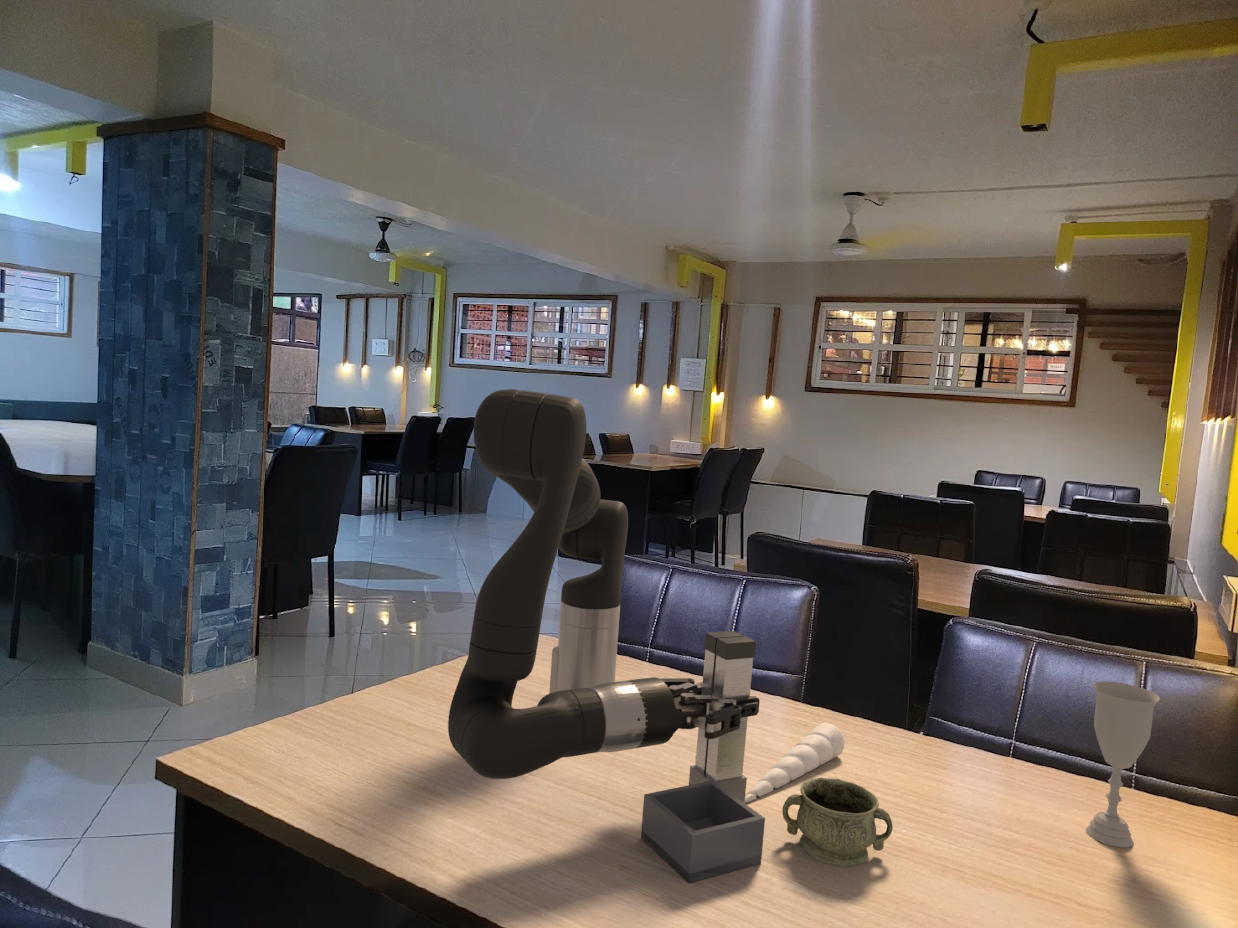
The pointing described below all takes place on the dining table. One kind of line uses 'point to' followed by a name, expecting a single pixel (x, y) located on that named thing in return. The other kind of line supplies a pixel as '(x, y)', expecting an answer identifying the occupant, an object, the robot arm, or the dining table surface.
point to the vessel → (836, 821)
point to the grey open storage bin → (702, 830)
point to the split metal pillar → (724, 680)
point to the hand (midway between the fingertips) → (743, 697)
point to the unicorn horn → (801, 759)
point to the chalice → (1119, 748)
